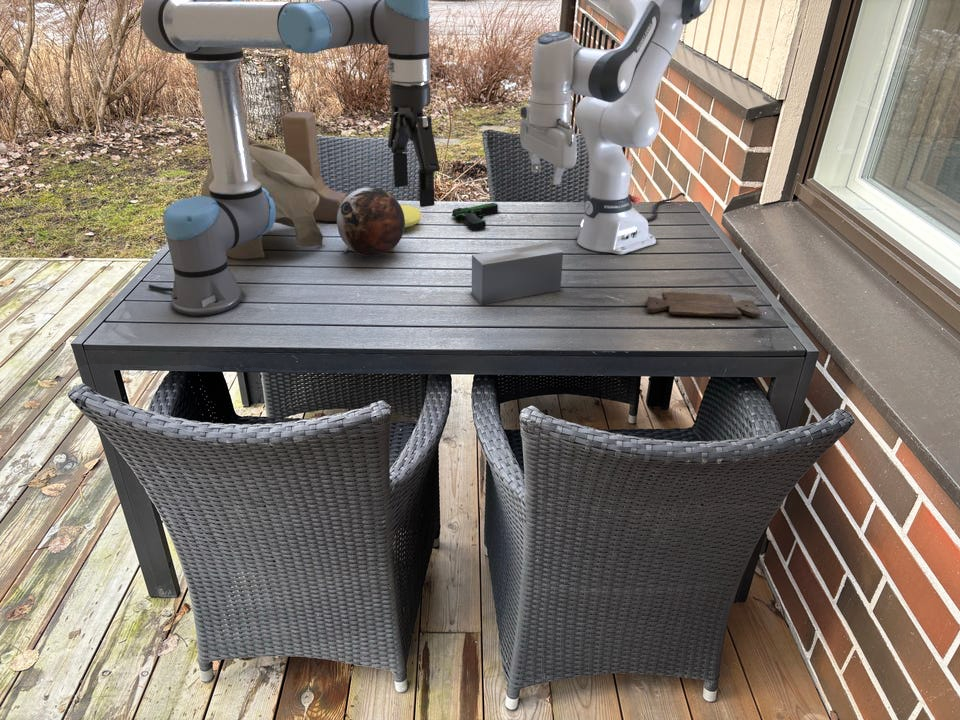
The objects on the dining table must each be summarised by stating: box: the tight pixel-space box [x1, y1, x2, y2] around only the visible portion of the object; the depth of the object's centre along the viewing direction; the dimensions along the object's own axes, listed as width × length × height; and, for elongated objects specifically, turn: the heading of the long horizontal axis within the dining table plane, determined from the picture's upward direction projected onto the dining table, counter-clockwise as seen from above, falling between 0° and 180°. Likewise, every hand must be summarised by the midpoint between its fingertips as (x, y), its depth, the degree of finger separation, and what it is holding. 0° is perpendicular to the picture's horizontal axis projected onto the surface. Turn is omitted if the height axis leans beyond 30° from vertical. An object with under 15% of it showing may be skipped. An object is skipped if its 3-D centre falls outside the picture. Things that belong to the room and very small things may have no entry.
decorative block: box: [280, 111, 348, 223], centre depth 209 cm, size 8×15×30 cm, turn 82°
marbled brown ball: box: [336, 186, 406, 257], centre depth 189 cm, size 22×18×20 cm
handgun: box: [451, 202, 499, 231], centre depth 216 cm, size 16×3×15 cm
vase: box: [400, 204, 423, 229], centre depth 210 cm, size 16×16×7 cm
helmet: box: [200, 137, 324, 260], centre depth 189 cm, size 27×30×30 cm
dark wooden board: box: [646, 291, 762, 318], centre depth 167 cm, size 26×2×10 cm
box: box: [471, 242, 564, 305], centre depth 171 cm, size 21×6×10 cm, turn 113°
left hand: (413, 195), depth 142 cm, fingers open, 13 cm apart
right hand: (545, 178), depth 161 cm, fingers open, 8 cm apart
